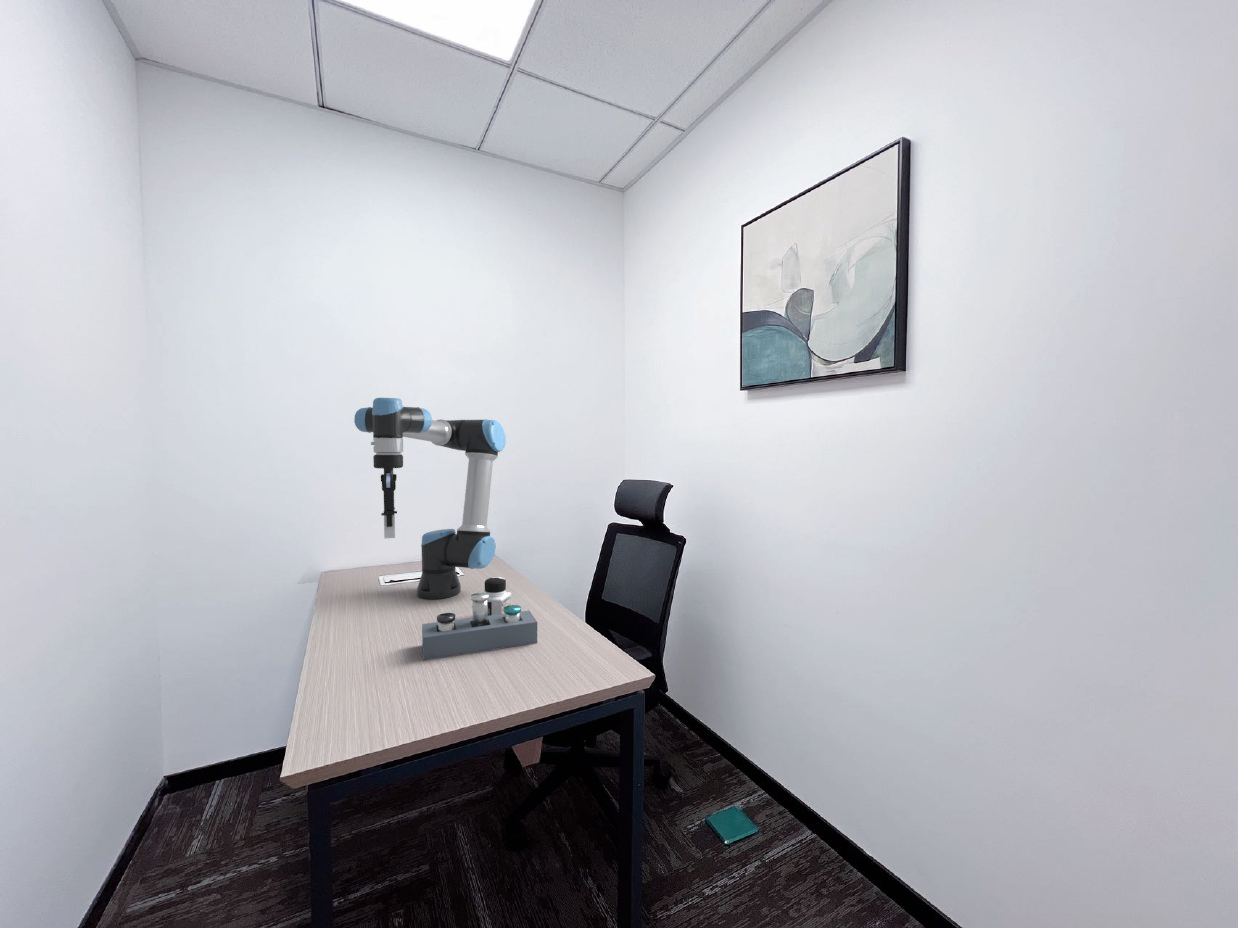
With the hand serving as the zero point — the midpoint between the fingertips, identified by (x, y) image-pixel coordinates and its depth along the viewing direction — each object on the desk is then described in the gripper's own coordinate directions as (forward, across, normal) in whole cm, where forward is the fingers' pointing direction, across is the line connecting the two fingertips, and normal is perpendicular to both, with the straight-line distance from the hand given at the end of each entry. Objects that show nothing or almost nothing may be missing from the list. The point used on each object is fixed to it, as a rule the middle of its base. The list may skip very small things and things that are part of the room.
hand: (389, 537), depth 142 cm
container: (+30, -6, +30) cm, 43 cm away
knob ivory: (+24, +12, +23) cm, 35 cm away
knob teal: (+29, +12, +32) cm, 45 cm away
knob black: (+29, +12, +14) cm, 34 cm away
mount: (+29, +12, +23) cm, 39 cm away
